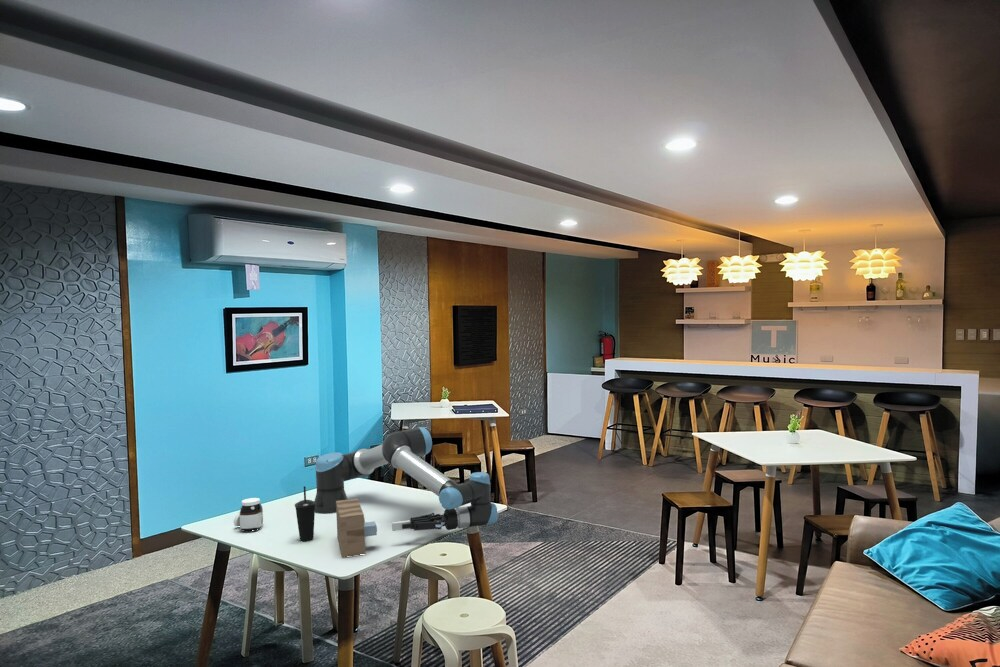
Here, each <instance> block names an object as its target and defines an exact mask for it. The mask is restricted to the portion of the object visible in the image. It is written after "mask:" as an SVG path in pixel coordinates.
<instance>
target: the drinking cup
mask: <svg viewBox="0 0 1000 667" xmlns="http://www.w3.org/2000/svg"><path fill="white" fill-rule="evenodd" d="M306 493H307V489H306V486H303V499H302V500H300V501H298V502H296V503H294V507H295V512H296V522H297V527H298V535H299V536H298V537H299V541H300V542H301V541H302V543H306V542H307V541H308V542H310V541H313V540H314V533H315V514H316V512H315V504H316V502H315V500H311V499H307V494H306ZM308 542H307V543H308Z"/></svg>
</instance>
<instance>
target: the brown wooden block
mask: <svg viewBox="0 0 1000 667" xmlns="http://www.w3.org/2000/svg"><path fill="white" fill-rule="evenodd" d="M335 513H336V533H337V534H336V536H337V542H338V547H339V551H340V552H339V553H340V557H345V558H348V557H347V556H352V557H355V556H354V555H359V556H361V555H360V554H365V555H366V540H365V539H366V537H365V534H364V518H365V514H364V512H363V509H362V507H361V504H360V501H359V499H358V498H351V499H349V498H348V500H341V501H336V512H335Z"/></svg>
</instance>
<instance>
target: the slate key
mask: <svg viewBox="0 0 1000 667" xmlns="http://www.w3.org/2000/svg"><path fill="white" fill-rule="evenodd" d="M377 532H378V525H377V523H376V520H375V521H374V520H373V521H365V523H364V534H365V538H366V537H372V536H378V534H377Z"/></svg>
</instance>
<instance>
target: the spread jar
mask: <svg viewBox="0 0 1000 667" xmlns="http://www.w3.org/2000/svg"><path fill="white" fill-rule="evenodd" d="M263 512H264V511H263V506H262V504H261V499H260V498H259V497H250V498H245V499H243V500H241V507H240V511H239V512H237V514H236V515H235V517H234V519H233V526H235V527H236V526H240V527H239V528H240V530H241V531H242V530H244V531H252V530H257V529H260V528H261V527H262V528H263V526H264V513H263ZM262 528H261V529H262ZM261 529H260V530H261ZM244 531H243V532H244ZM257 531H258V530H257Z"/></svg>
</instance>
